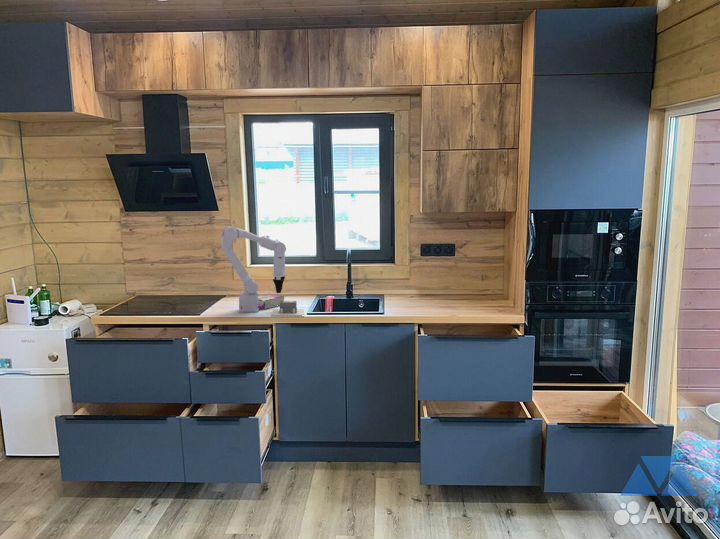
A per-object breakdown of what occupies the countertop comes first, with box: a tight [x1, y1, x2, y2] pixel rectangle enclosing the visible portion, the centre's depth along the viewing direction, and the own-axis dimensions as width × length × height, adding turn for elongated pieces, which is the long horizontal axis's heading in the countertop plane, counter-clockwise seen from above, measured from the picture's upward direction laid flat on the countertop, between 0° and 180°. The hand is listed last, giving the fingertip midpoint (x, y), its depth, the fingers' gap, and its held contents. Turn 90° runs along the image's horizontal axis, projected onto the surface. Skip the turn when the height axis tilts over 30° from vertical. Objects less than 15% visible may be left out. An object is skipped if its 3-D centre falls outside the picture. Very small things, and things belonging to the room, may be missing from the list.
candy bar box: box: [258, 293, 285, 310], centre depth 288 cm, size 11×5×16 cm
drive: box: [279, 300, 298, 313], centre depth 271 cm, size 8×4×5 cm, turn 95°
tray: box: [270, 308, 305, 317], centre depth 271 cm, size 16×14×3 cm
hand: (279, 291), depth 279 cm, fingers open, 7 cm apart
